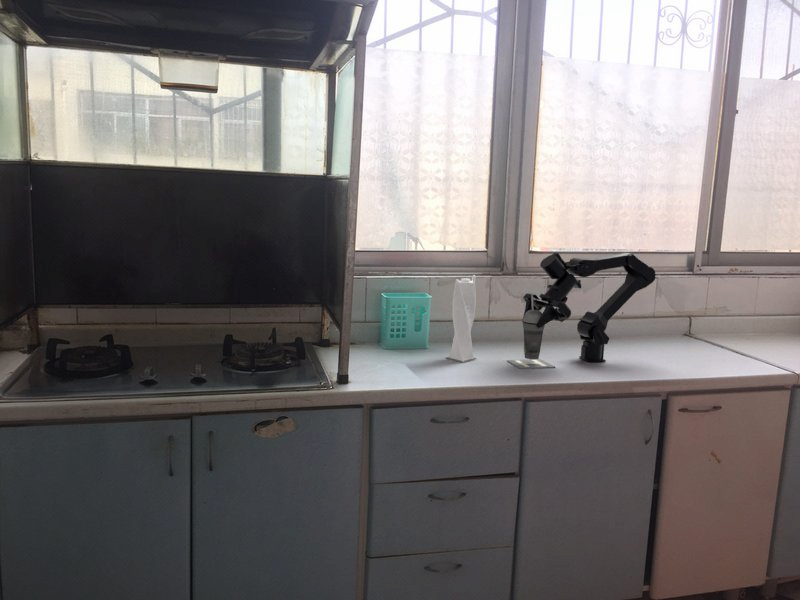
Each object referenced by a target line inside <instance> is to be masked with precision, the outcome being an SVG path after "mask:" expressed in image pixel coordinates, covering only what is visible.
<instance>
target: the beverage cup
mask: <svg viewBox="0 0 800 600" xmlns="http://www.w3.org/2000/svg"><path fill="white" fill-rule="evenodd" d="M531 300H532V310H529V311H528V312H526V313H525V315H524V314H523V316H524V317H523V316H522V320H523V321H522V320H521V323H522V329H523V353H524V354H523V355H524V358H525V359H540V354H541V347H542V340H543V334H544V330H545V325H546V324H545V325H543V326H542V327H540V328H537V327H536V325H537V323H538V321H539V319H540V317H541V315H542V313H543V312H542V311H541V310H534V309H533V295H531Z"/></svg>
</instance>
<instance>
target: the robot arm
mask: <svg viewBox="0 0 800 600" xmlns="http://www.w3.org/2000/svg"><path fill="white" fill-rule="evenodd" d="M539 266H540V267H541V269H542V270H543V271H544V273H546V275H547V276H548V277H549V279H550V280H555V281H554V282H553V283H552V284H548V285H547V288H548V289H547V290H546V292H545V293H540V294H539V296H537V294H534V293H530V292H528V293H525V294H524V296H523V297H522V299H523V301H524V302H525V305H524V306H525V307H524V312H523V315H522V318H523V317H524V315H525V313H526V312H528V311H529V310H532V300H531V295H533V309H534V310H539V311H541V310H542V309H543V308H544V310H543V312H541V313H542V315H541V317H540V319H539V321H538V323H537V325H536V327H537V328H540V327H542V326H543V325H546V324H548V323H550V322H551V321H553V320H554V321H559V322H560V323H563V322H565V321H566V320H568V319H569V318H570V317H571V316H572V310H571V308H570V307H569V306H568V305H567V301H568V299H569V298H568V297H567V296H568V295H569V293H570V292H572V290H573V289H582V284H581V281H582V280H581V279H577V277H579V278H588V277H590V276H592V275H595V274H596V273H597V272H600V271H605V270H611V269H615V268H623V270H624V271H625V272H626V275H625V278H624V283H622V284H621V286H619V287H618V289H617V290H616V291H614V293H613V294H612V295H611V296H610V297H609V298H608V299H606V301H605V302H604V303H603V304H601V306H600V307H599V308H598V309H597V310H596V311H594V312H591V311H587V312H585V314H584V315H582V316H581V317H580V318H579V319H578V320H579V321H578V323H577V327H576V328H577V333H578V334H579V338H580V340H583V341H582V345H581V350H580V355H579V356H578V357H579V359H581V360H584V361H586V362H588V363H596V362H597V363H599V362H601V363H602V362H605V363H606V361H607V359H604V352H605V345H608V343H609V342H610V337H609V336H608V334H607V333H606V332H605V331H606V330H607V327H608V323H609V320H611V318H612V317H614V316H615V314H616V313H617V312H618V311H619V310H620V309H622V308H623V306H624V305H625V304H626V303H627V302H628V301H629V300H630V299H631V298H632V297H633V296H634V294H636V293H637V292H639V291H641V290H644V289H645V288H647V287H648V286H650V285H652V284H653V282H654V281H655V280H656V278H657V277H656V271H655V269H654V268H653V267H652V266H649V265H648V264H647V263H645V262H644V261H642V260H640V259H639V258H638V257H637V256H635V255H634V254H633V253H627V252H622V253H618V254H614V255H613V254H612V255H607V256H601V257H595V258H585V257H573V258H571V259H570V260H569V261H564V259H563V258H562V256H561V255H560V254H559V252H553V253H552V254H550V255H548V256H546V257H544V258H543V259H542V260H541V262H540V264H539ZM575 276H576V277H575ZM539 297H540V298H539ZM522 321H523V319H522V320H521V322H522Z"/></svg>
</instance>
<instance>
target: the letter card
mask: <svg viewBox="0 0 800 600" xmlns="http://www.w3.org/2000/svg"><path fill="white" fill-rule="evenodd" d="M507 361H508V362H507ZM506 362H507V363H509V364H511V365H512V364H513V365H512V366H514V367H516V368H517V367H518V369H519V368H520V369H519V370H530V369H529V368H537V369H555V368H556V365H553V364H551V363H550V362H547V361H545V360H543V359H541V358H539V359H527V358H525V359H507V360H506ZM554 367H555V368H554Z"/></svg>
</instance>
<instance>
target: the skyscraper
mask: <svg viewBox="0 0 800 600" xmlns="http://www.w3.org/2000/svg"><path fill="white" fill-rule="evenodd" d="M476 279H477V276H476V275H475V274H473V275H472V277H471V278H467V277H466V278H465V277H464V278H461V279H460V280H459V279H458V278H456V279H455V284H454V287H453V288H454V290H453V295H452V306H451V307H452V308H451V309H452V310H451V311H452V313H451V315H452V323H453V328H454V329H453V330H454V334H453V338H452V339H453V340H452V346H451V350H450V355H449V356H446V357H445V359H447V360H451V361H456V362H459V363H462V362H464V363H467V362H471V360H472V361H475V359H476V360H477V357H474V355H473V342H472V334H471V333H472V332H471V331H472V328H473V324H474V321H475V316H476V308H477V291H476V290H477V289H476V288H477V287H476Z"/></svg>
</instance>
